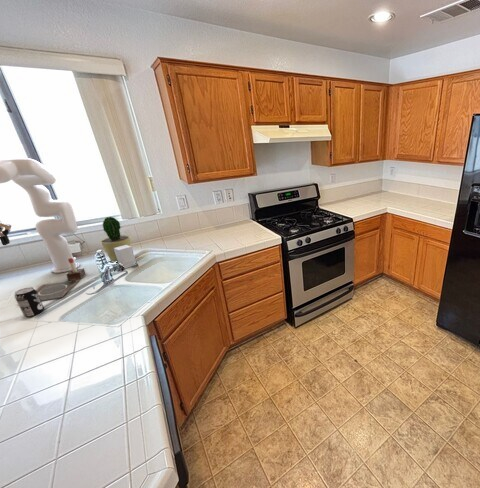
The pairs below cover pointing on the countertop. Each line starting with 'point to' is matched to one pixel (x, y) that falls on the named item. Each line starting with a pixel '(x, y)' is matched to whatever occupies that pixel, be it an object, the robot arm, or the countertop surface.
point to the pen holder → (76, 274)
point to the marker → (72, 264)
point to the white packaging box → (125, 256)
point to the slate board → (55, 290)
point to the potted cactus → (113, 237)
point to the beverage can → (29, 302)
